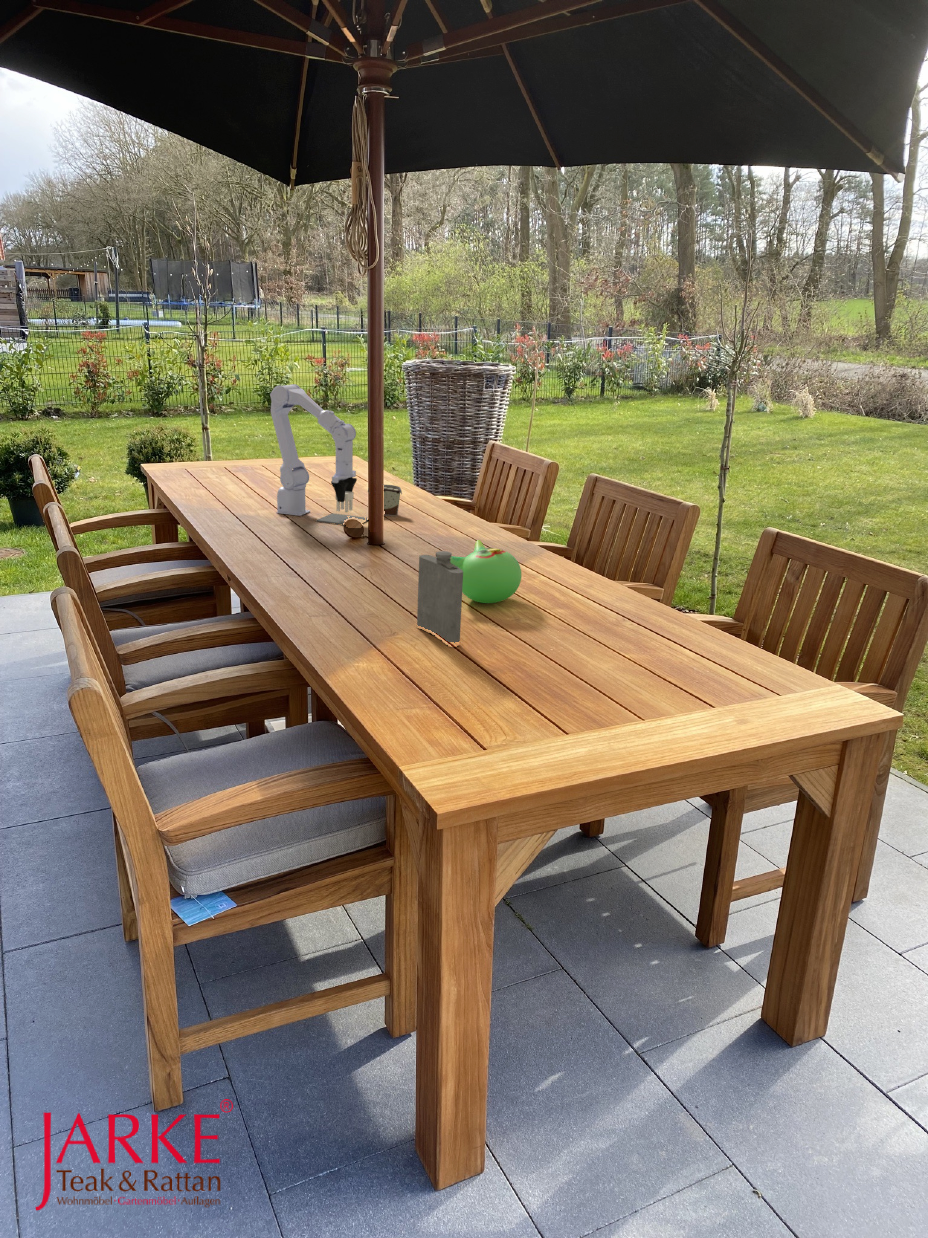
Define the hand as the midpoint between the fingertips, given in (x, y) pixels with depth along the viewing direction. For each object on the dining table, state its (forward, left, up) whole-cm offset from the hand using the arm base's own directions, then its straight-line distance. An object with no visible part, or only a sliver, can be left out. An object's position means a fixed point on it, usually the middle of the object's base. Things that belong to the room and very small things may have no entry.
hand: (344, 500), depth 307 cm
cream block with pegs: (0, 0, -4) cm, 4 cm away
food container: (+8, +18, -7) cm, 21 cm away
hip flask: (+69, -92, -7) cm, 115 cm away
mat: (0, 0, -7) cm, 7 cm away
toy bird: (+71, -62, -7) cm, 95 cm away
